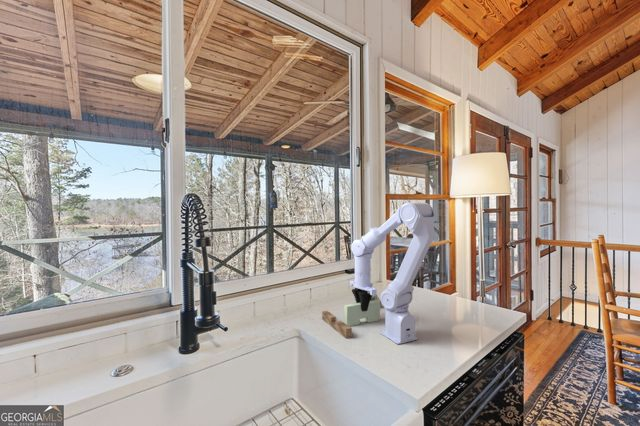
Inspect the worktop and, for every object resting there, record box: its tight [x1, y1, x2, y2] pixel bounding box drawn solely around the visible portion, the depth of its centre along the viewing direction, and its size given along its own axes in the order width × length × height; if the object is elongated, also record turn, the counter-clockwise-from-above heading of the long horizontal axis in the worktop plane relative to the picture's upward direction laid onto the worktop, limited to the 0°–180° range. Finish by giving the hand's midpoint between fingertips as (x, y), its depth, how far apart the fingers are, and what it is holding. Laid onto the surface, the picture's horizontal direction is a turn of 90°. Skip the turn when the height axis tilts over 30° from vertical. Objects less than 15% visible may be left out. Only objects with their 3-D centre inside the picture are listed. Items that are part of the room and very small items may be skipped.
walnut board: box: [321, 310, 353, 339], centre depth 102 cm, size 18×2×3 cm, turn 25°
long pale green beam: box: [343, 300, 381, 327], centre depth 107 cm, size 14×2×7 cm, turn 115°
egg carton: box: [354, 295, 383, 309], centre depth 124 cm, size 11×8×4 cm
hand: (362, 309), depth 107 cm, fingers closed on long pale green beam, 2 cm apart
